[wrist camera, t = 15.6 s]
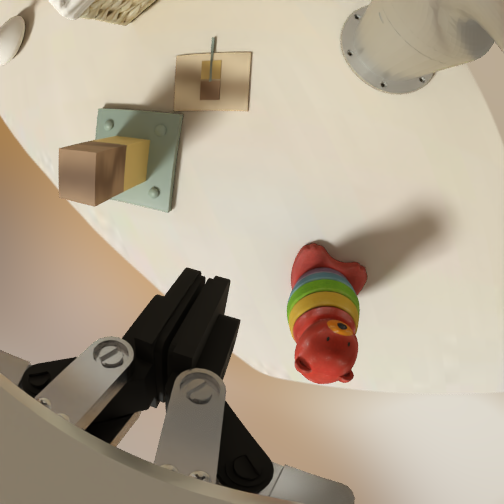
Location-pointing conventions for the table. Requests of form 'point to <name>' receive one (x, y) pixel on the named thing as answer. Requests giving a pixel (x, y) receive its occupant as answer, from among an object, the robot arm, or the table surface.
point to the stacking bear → (324, 314)
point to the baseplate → (160, 152)
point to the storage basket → (102, 9)
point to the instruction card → (212, 81)
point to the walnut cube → (91, 172)
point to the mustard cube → (132, 159)
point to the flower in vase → (11, 38)
